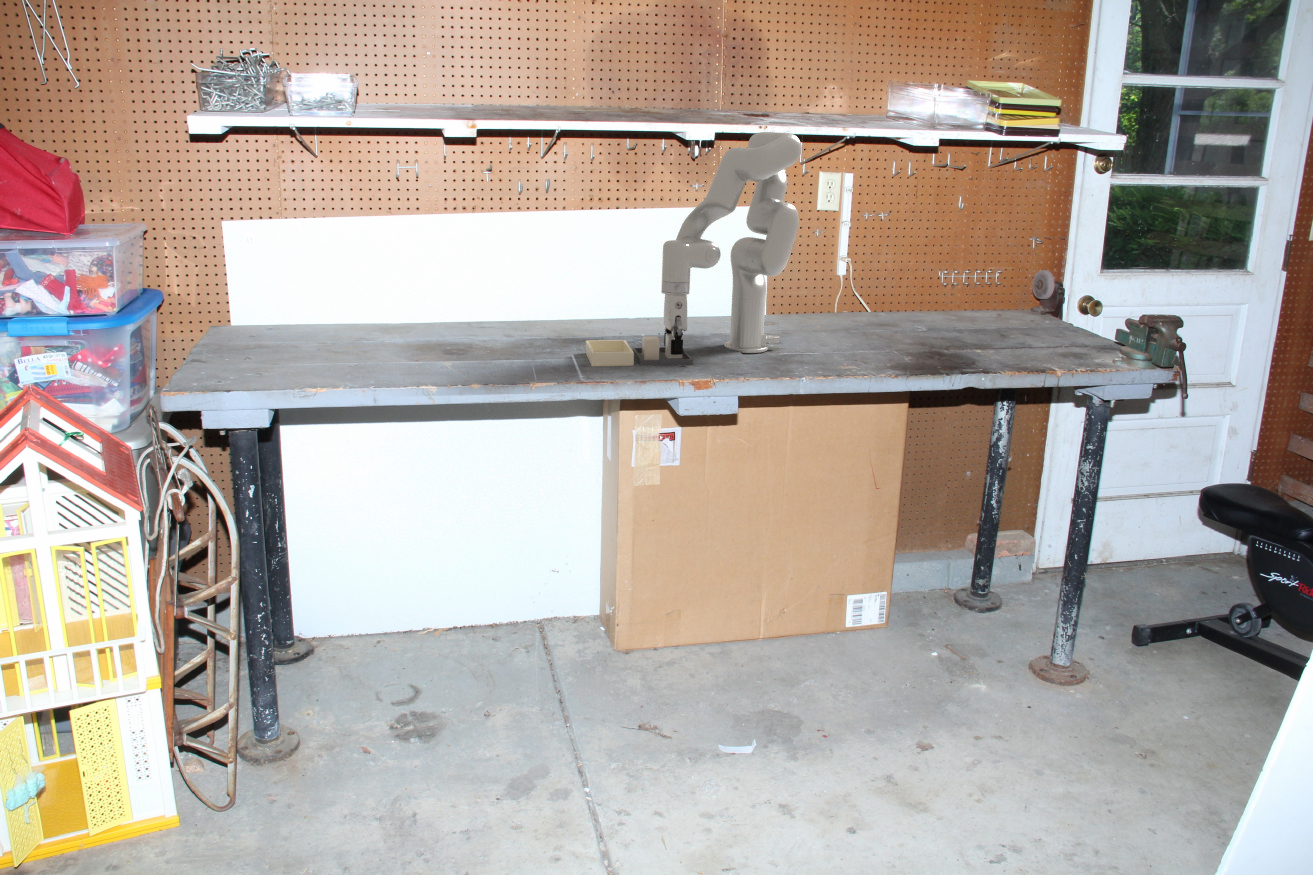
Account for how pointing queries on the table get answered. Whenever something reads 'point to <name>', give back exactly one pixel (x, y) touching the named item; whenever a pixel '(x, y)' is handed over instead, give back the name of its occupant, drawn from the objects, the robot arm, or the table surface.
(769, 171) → the robot arm
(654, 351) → the stone
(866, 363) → the table surface
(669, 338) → the stone
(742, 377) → the table surface
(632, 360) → the tub
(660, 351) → the pan
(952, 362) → the table surface
